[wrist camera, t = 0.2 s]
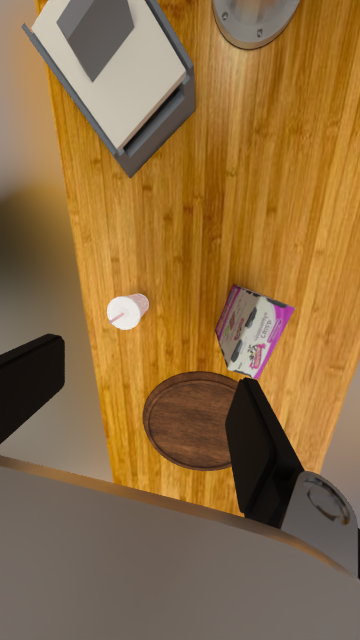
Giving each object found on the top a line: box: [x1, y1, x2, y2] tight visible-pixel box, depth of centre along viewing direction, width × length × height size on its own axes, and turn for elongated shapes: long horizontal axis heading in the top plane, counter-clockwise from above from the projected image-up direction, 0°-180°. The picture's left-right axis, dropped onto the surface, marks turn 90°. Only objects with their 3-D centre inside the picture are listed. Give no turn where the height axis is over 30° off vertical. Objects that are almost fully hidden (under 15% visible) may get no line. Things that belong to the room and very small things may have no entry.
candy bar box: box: [215, 285, 295, 379], centre depth 31 cm, size 11×5×16 cm, turn 163°
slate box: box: [22, 0, 195, 178], centre depth 27 cm, size 15×18×7 cm
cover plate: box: [31, 0, 186, 152], centre depth 22 cm, size 13×17×6 cm
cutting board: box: [143, 371, 238, 471], centre depth 48 cm, size 32×32×3 cm
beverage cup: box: [107, 294, 149, 330], centre depth 34 cm, size 6×6×14 cm
